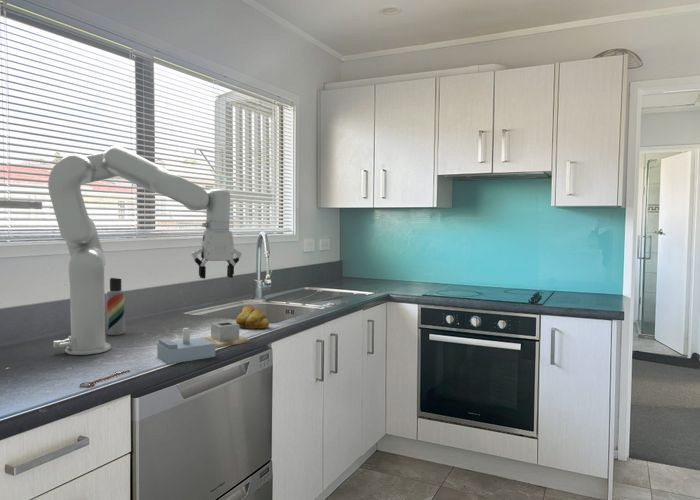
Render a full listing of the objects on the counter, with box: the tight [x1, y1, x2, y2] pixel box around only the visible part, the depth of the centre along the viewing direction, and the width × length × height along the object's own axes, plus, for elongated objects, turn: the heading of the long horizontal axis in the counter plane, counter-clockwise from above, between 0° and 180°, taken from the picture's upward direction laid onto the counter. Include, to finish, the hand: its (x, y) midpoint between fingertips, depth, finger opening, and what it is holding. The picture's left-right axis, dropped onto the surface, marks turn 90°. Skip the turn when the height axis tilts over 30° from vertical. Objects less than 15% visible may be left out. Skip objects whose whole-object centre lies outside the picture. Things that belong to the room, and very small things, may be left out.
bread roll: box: [235, 304, 270, 330], centre depth 202 cm, size 13×10×8 cm
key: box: [79, 369, 131, 388], centre depth 136 cm, size 6×1×15 cm
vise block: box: [156, 327, 216, 365], centre depth 158 cm, size 14×10×8 cm
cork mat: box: [203, 335, 251, 348], centre depth 179 cm, size 12×12×1 cm
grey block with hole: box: [210, 320, 240, 342], centre depth 179 cm, size 7×7×5 cm
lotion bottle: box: [106, 277, 126, 336], centre depth 187 cm, size 6×6×20 cm
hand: (216, 277), depth 178 cm, fingers open, 9 cm apart
